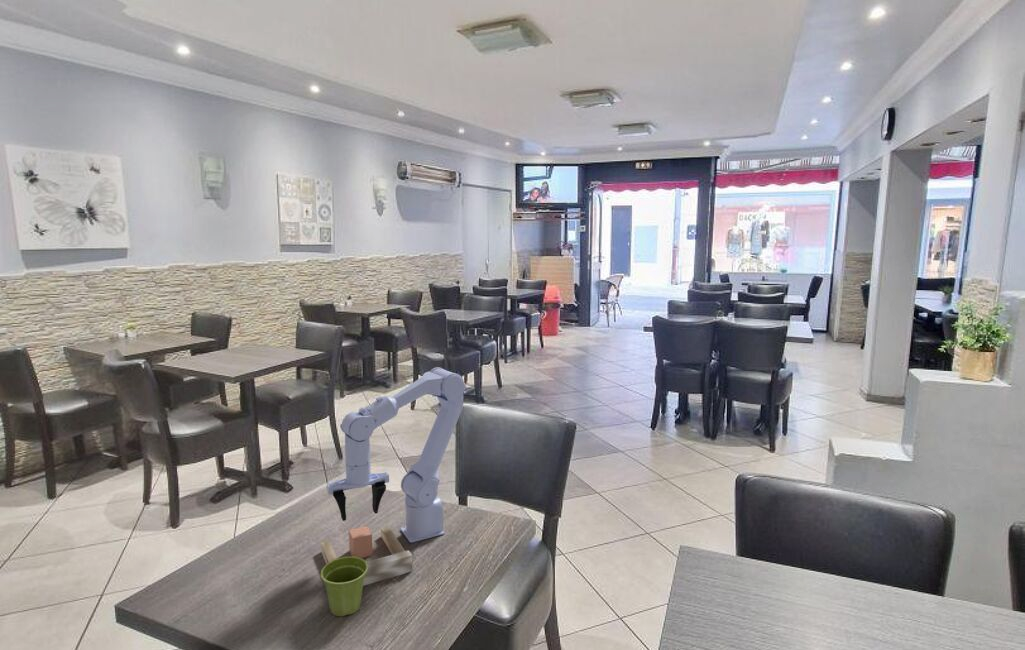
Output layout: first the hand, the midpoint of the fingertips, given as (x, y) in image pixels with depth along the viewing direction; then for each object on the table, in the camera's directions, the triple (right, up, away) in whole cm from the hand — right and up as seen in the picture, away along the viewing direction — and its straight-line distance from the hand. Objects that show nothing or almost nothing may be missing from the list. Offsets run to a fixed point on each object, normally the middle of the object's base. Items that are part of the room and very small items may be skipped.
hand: (359, 515), depth 132 cm
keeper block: (0, -10, +1) cm, 10 cm away
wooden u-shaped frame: (+2, -10, -2) cm, 11 cm away
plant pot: (+2, -13, -19) cm, 23 cm away
